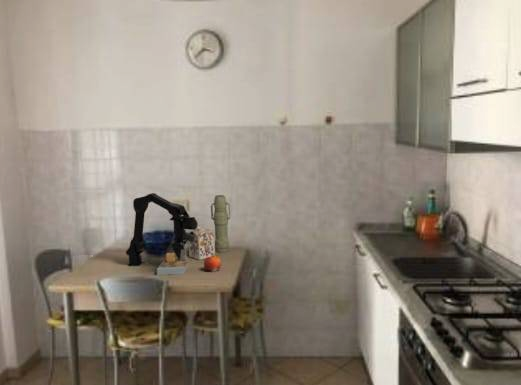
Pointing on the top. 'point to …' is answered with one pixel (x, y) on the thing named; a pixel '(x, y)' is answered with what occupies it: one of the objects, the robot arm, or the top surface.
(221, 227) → the green vase
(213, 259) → the tomato
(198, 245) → the decorative jar
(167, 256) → the orange cube
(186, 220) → the robot arm
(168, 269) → the pale grey flat slab
